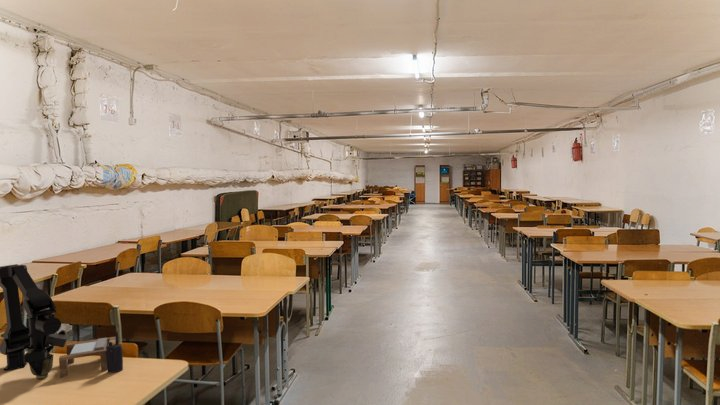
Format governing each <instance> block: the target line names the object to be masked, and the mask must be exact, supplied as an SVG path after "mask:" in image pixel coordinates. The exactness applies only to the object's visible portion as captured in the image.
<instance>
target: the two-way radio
mask: <svg viewBox="0 0 720 405" xmlns="http://www.w3.org/2000/svg"><path fill="white" fill-rule="evenodd" d="M114 333H115V337H116V342H115V344H114V345H112V342H109V346H108V347H107V350H106V358H107V370H106V371H107V373H109V374H111V373H116V372H120V371H122V370H123V369H124V365H123V364H124V359H123V358H124V356H123V354H124V350H123V346H122V344H120V342H119V332H118V330H116V331H115V332H114Z"/></svg>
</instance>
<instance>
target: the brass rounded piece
mask: <svg viewBox="0 0 720 405" xmlns="http://www.w3.org/2000/svg"><path fill="white" fill-rule="evenodd" d="M53 364H54V354H53V353H50V352H49V353H48V356H47V358H46V359H45V360H44V361H43V368H42V374H41V375H37V374H36V373H35V371H34V370H33V368H32V367H31V366H30V365H29V364H28V365H29V369H30V372H31V374H32V375H33V376H35V378H36V379H37V380H39V381H40V380H45V379H47V378H48V377H49V373H50V372H51V370H53Z"/></svg>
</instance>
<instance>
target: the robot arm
mask: <svg viewBox="0 0 720 405" xmlns="http://www.w3.org/2000/svg"><path fill="white" fill-rule="evenodd" d="M0 288H1V289H2V292H3V293H2V294H3V299H4V300H3V302H4V308H5V309H4V310H5V317H6V324H7V326H6V328H5V331H3V334H2V337H3V339H2V341H1V343H0V354H2V355H4V356H6V366H5V367H4V368H3V371H6V370H7V371H8V370H14V369H20V368H25V367H26V365H27V364H28V365H30V366H31V367H32V368H33V370H34V371H35V373H36V374H37V375H41V374H42V368H43V361H44V360H45V359H46V358H47V356H48V353H50V352H51V350H53V349H54V347H59V348H64V347H65V346H66V345H67V343H68V339H69V334H68V333H67V331H66V330H64V329H61V328H62V321H61V320H60V318H58V317H55V314H56V313H57V310H56V309H57V306H56V304H55V302H54V301H53V299H52V297H51V296H50V295H49V294H48V292H46V290H44V289H41V288H39V287H38V286H37V284H36V282H35V280H34V279H33V278H32V277H31V275H30V273H29V271H28V268H27V265H25V264H16V263H15V264H9V265H2V266H0ZM19 291H20V292H21V294H22V296H23V298H24V299H23V303H22V304H23V309H24V311H25V312H26V314H27V317H28V325H29V327H27V326H26V325H25V324H24V323H23V322H24V321H23V315H22V307H21V306H22V305H21V301H20V300H21V299H20V292H19ZM54 313H55V314H54ZM60 329H61V330H60ZM59 330H60V331H59ZM27 349H28V351H27V352H26V351H25V350H27ZM30 366H29V367H30Z"/></svg>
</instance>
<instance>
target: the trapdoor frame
mask: <svg viewBox="0 0 720 405" xmlns="http://www.w3.org/2000/svg"><path fill="white" fill-rule="evenodd" d="M106 338H107V346H106V349H103V350H96V351H90V352H83V353H77V354H70V353H71V351H72V349H73V347H74V346H75V344H81V343H88V342H95V341H98V339H99V338H97V339H90V340H83V341H75V342H69V343H68V342H67V343H66V345H65V346H66V355H60V356H59V357H58V366H59V367H58V368H59V378H60V379H62V378H63V379H65V378H67V377H68V376H69V375H68V365H70V364H74V363H75V359H78V358H79V359H80V358H85V357H92V356H98V355H100V356H99V357H100V358H99V359H100V371H101V372H104V371H107V358H106V350H107V347H108V346H109V342H112V345H114V344H116V336H111V337H106Z"/></svg>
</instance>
